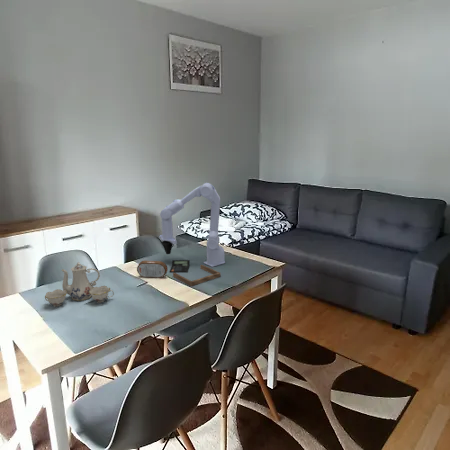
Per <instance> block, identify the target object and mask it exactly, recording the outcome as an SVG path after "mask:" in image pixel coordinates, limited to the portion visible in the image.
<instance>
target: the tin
mask: <svg viewBox="0 0 450 450" xmlns="http://www.w3.org/2000/svg"><path fill="white" fill-rule="evenodd" d="M136 270H137V274H138V275H139V276H140V277H143V278H148V279H149V278H150V279H152V278H155V279H161V278H163V277H165V276H166V275H167V273H168V266H167V264H166V263H165V262H163V261H161V260H142V261H140V262H139V263H138V265H137V267H136Z"/></svg>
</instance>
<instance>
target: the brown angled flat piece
mask: <svg viewBox="0 0 450 450" xmlns="http://www.w3.org/2000/svg"><path fill="white" fill-rule="evenodd" d="M200 269H201V270H203V271H205V272H207V273H209V274H210V275H207V276H204V277H201V278H198V279H197V278H196V279H195V280H190V279H188V278H186V277H185V276H183V275H180V274H179V273H172V277H173V278H174V279H176V280H178V281H180V282H182V283H184V284H186V285H188V286H189V287H194V286H196V285H199V284H200V285H201V284H203V283H206V282H208V281H209V282H210V281H212V280H215V279H217V278H221V277H222V276H221V272H220V271H218V270H215V269H212V268H210V267H209V266H206V265H205V264H200Z"/></svg>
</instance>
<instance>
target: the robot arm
mask: <svg viewBox="0 0 450 450" xmlns="http://www.w3.org/2000/svg"><path fill="white" fill-rule="evenodd" d="M201 196H202V197H203V198H204V199H207V200H208V201H209V202H210V219H209V220H210V221H209V233H208V238H207V241H206V261H203V264H204V265H207V266H208V267H212V268H213V267H216V266H220V265H223V264H225V263H226V261H225V249H224V248H223V246H222V245H221V246H220V245H219V243H220V236H219V223H220V211H221V210H220V209H221V208H220V207H221V197H220V195H219V194H218V191H217V190H216V188H215V186H214V185H213V184H212V183H210V182H203V184H202V185H199V186H197V187H196V188H194V189H192V190H191V191H190V192H188V193H187V194H186V195H185V196H184V197H182V198H181V199H178V198H177V199H173V200H172V202H171V203H170V204H166V206H165V207H164V208H163V209H162V210H161V211H160V213H159V214H160V215H159V216H160V218H161V234H160V235H159V236H158V237H159V239H160V241H161V244H162V246H163V248H164V252H165V254H166V255H171V253H172V250H173V249H172V248H173V246H174V245H176V244H177V245H178V243H177V240H176V239H175V238H174V232H173V230H174V229H173V216H174V215H175V214H178V213H179V212H180V211H181V210H183V209H184V207H185V205H186V204H187V203H188V202H190V201H191V200H193V199H195V198H196V197H197V198H200V197H201Z"/></svg>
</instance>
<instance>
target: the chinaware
mask: <svg viewBox="0 0 450 450" xmlns="http://www.w3.org/2000/svg"><path fill="white" fill-rule="evenodd" d="M92 270H93V271H96V272H97V278H96V279H95V280H93V281H89V279H88V275H87V273H89V274H90V273H91V271H92ZM61 271H62V272H63V279H62V283H61V284H62V289H57V288H56V289H54V290H53V291H48V292H46V294H45V295H44V300H45V301H46V302H48V303H49V304H51V305H52V306H53V307H54V308H55V307H60V306H61V305H63V302H64V301H65V299H66V296H67V295H68V296H69V297H71V300H73V301H76V302H77V301H78V302H81V301H86V300H89V299H90V298H92V299H93V300H94V301H95V302H96V303H97V304H98V303H99V304H101V303H103V302H104V303H105V300H108V298H111V297H113V296H114V295H115V293H114V290H113V289H111V288H110V287H108V286H105V285H101V286H99V287H98V286H96V285H97V282H98V280H99V279H100V276H101V275H100V271H99V270H98V269H97V268H94V267H93V268H88V267H87V265H83V264H81V263H80V262H79V261H78V262H76V264H75V265H74V266H73V267H71V268H70V271H71V273H72V281H71V284H69V273H68V271H67V270H66V269H61ZM109 292H112V295H110V296H108V295H109Z"/></svg>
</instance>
